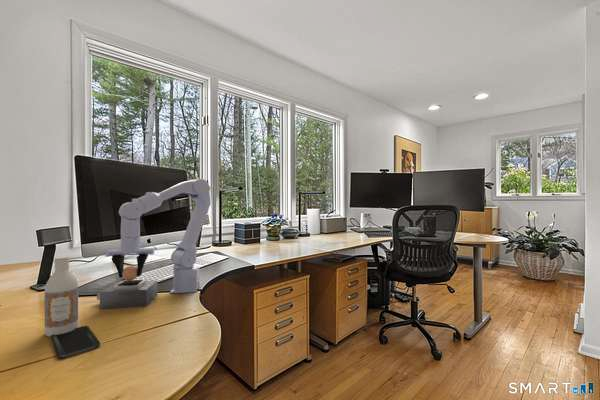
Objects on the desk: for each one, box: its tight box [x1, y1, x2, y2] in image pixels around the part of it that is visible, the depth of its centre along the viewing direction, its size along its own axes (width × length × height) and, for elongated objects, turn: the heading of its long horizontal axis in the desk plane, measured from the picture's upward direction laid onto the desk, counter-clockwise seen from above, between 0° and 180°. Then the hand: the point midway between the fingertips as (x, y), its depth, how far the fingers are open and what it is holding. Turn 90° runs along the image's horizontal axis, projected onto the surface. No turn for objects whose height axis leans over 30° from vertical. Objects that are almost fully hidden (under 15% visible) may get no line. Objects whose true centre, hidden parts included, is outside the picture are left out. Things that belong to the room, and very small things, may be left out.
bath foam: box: [44, 255, 79, 338], centre depth 76 cm, size 7×7×20 cm
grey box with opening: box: [96, 278, 158, 310], centre depth 98 cm, size 17×11×7 cm, turn 100°
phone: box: [50, 325, 101, 360], centre depth 70 cm, size 8×1×15 cm
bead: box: [122, 265, 138, 281], centre depth 98 cm, size 5×5×5 cm
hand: (130, 276), depth 98 cm, fingers closed on bead, 5 cm apart
